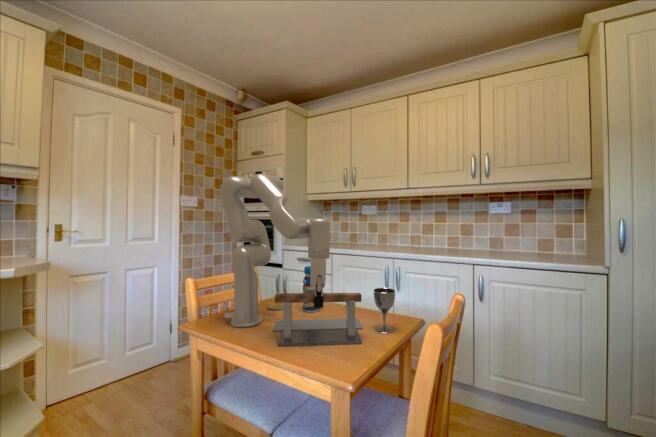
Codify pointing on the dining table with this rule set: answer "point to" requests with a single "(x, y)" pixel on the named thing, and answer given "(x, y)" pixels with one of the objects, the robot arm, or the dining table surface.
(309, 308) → the beverage bottle
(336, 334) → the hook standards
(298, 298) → the walnut rail
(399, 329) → the dining table surface
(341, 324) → the grey mat
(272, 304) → the bread roll
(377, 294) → the wine glass
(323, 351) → the dining table surface
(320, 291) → the robot arm
